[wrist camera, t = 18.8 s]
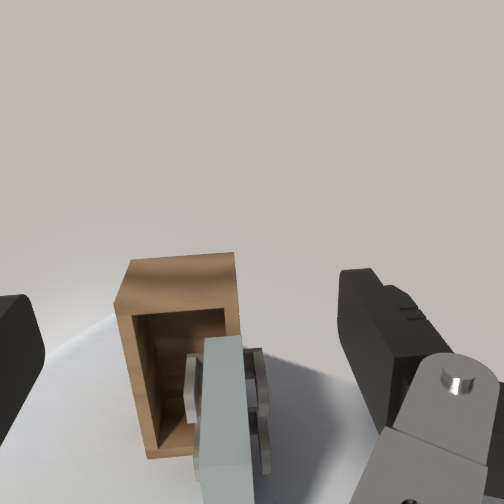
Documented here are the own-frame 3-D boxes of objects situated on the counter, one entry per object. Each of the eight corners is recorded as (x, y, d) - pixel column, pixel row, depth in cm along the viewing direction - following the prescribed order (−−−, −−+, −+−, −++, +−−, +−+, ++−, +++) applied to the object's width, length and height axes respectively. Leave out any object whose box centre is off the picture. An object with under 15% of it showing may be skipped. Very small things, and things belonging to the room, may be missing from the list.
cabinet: (157, 399, 50) (131, 259, 42) (259, 390, 50) (252, 250, 42) (140, 502, 38) (99, 338, 31) (271, 489, 39) (265, 324, 31)
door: (219, 464, 42) (204, 338, 35) (250, 461, 42) (241, 334, 35) (219, 611, 31) (198, 468, 24) (261, 607, 31) (251, 463, 24)
